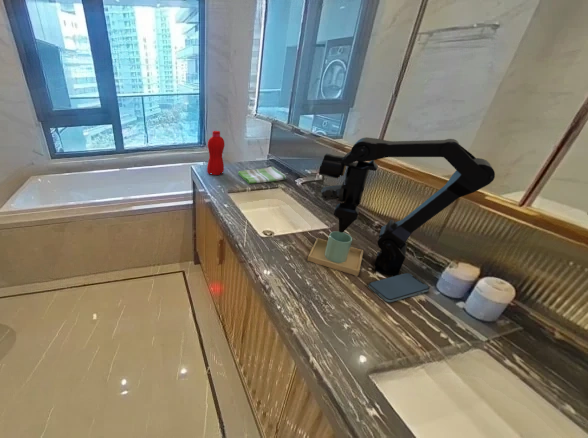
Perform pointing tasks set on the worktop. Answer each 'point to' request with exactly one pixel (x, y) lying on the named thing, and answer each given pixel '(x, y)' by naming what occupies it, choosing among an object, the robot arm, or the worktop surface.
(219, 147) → the water bottle
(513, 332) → the worktop surface
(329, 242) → the cup
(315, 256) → the tray
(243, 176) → the dish towel
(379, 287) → the smartphone
